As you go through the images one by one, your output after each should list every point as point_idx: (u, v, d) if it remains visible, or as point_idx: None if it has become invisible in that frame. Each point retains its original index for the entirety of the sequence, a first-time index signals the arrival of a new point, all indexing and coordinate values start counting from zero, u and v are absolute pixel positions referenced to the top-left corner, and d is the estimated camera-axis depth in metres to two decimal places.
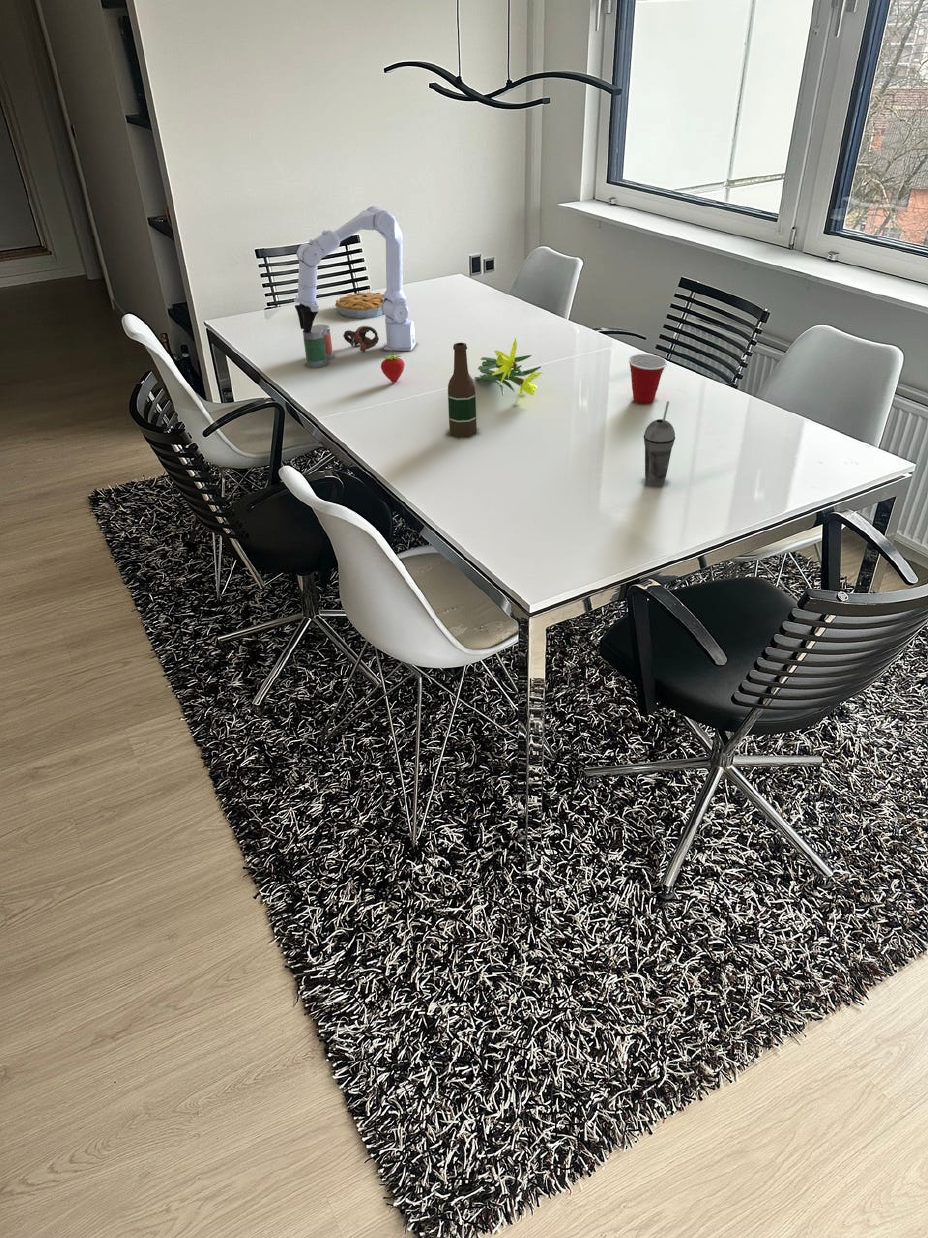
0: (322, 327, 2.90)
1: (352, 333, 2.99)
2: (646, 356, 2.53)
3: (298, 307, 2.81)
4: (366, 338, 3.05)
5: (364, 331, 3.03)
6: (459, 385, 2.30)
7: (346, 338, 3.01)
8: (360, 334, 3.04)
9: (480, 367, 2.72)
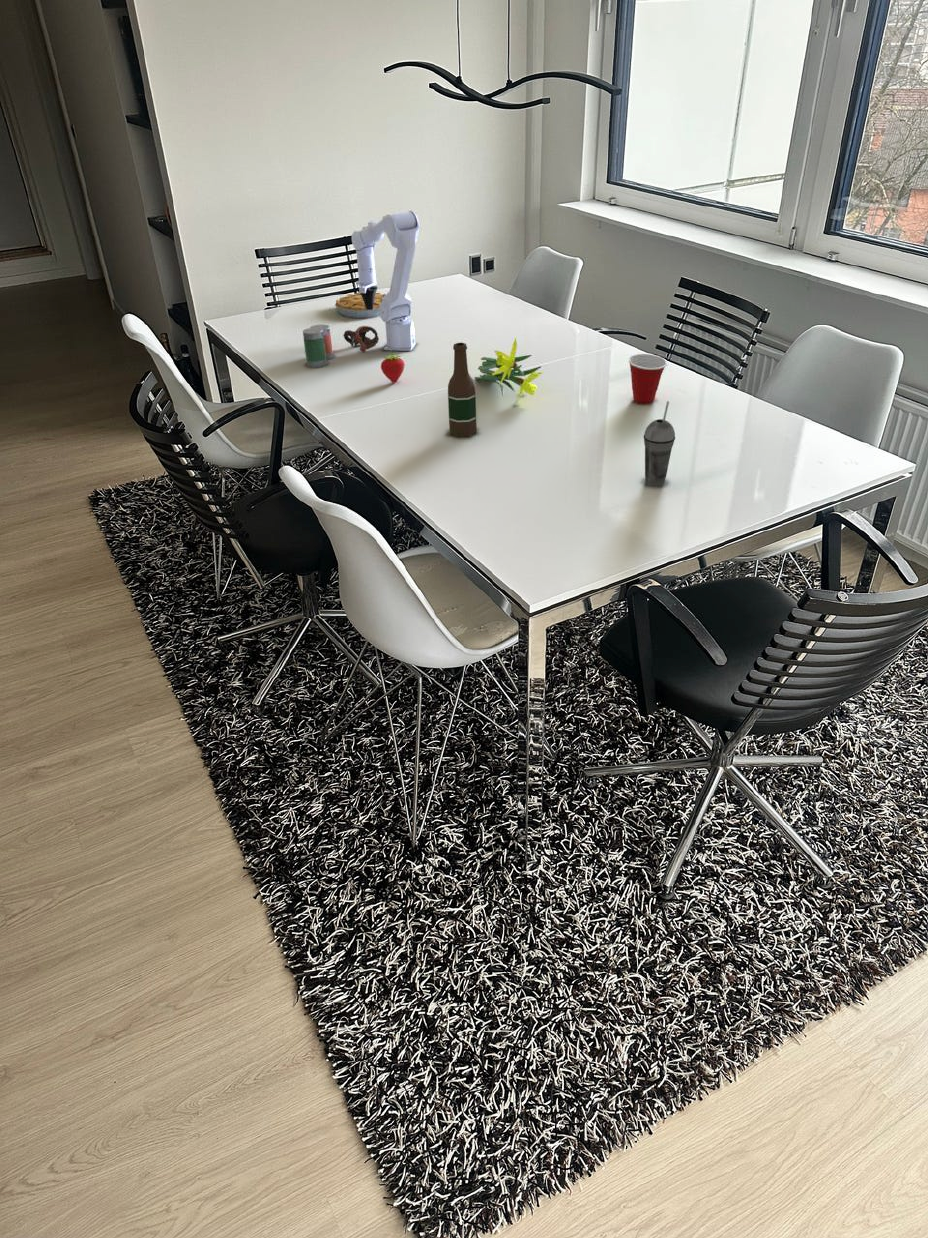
0: (322, 327, 2.90)
1: (352, 333, 2.99)
2: (646, 356, 2.53)
3: None
4: (366, 338, 3.05)
5: (364, 331, 3.03)
6: (459, 385, 2.30)
7: (346, 338, 3.01)
8: (360, 334, 3.03)
9: (480, 367, 2.72)
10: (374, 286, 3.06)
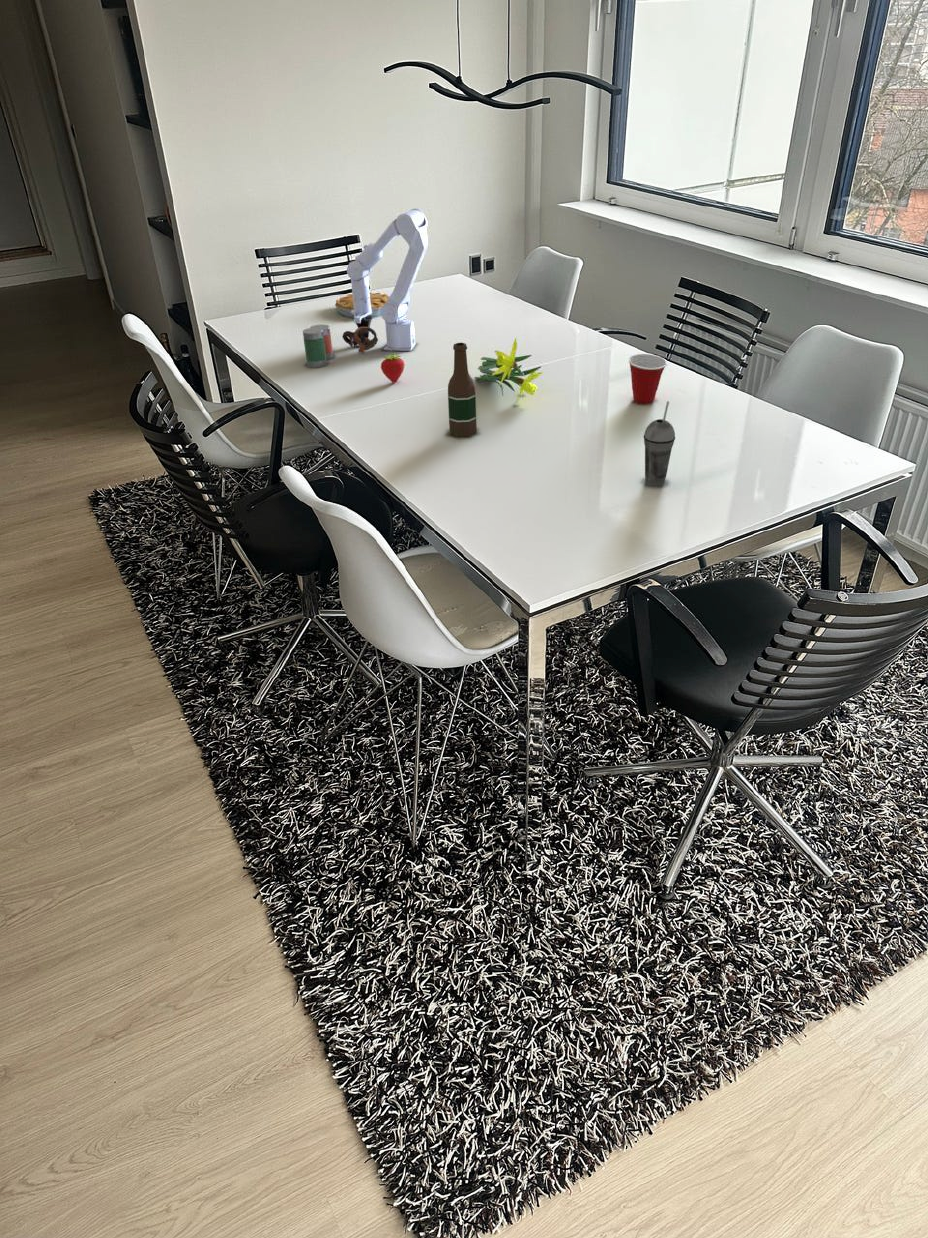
0: (322, 327, 2.90)
1: (351, 334, 2.99)
2: (646, 356, 2.53)
3: None
4: (365, 339, 3.05)
5: (363, 332, 3.02)
6: (459, 385, 2.30)
7: (345, 339, 3.00)
8: (359, 335, 3.03)
9: (480, 367, 2.72)
10: (369, 315, 3.03)
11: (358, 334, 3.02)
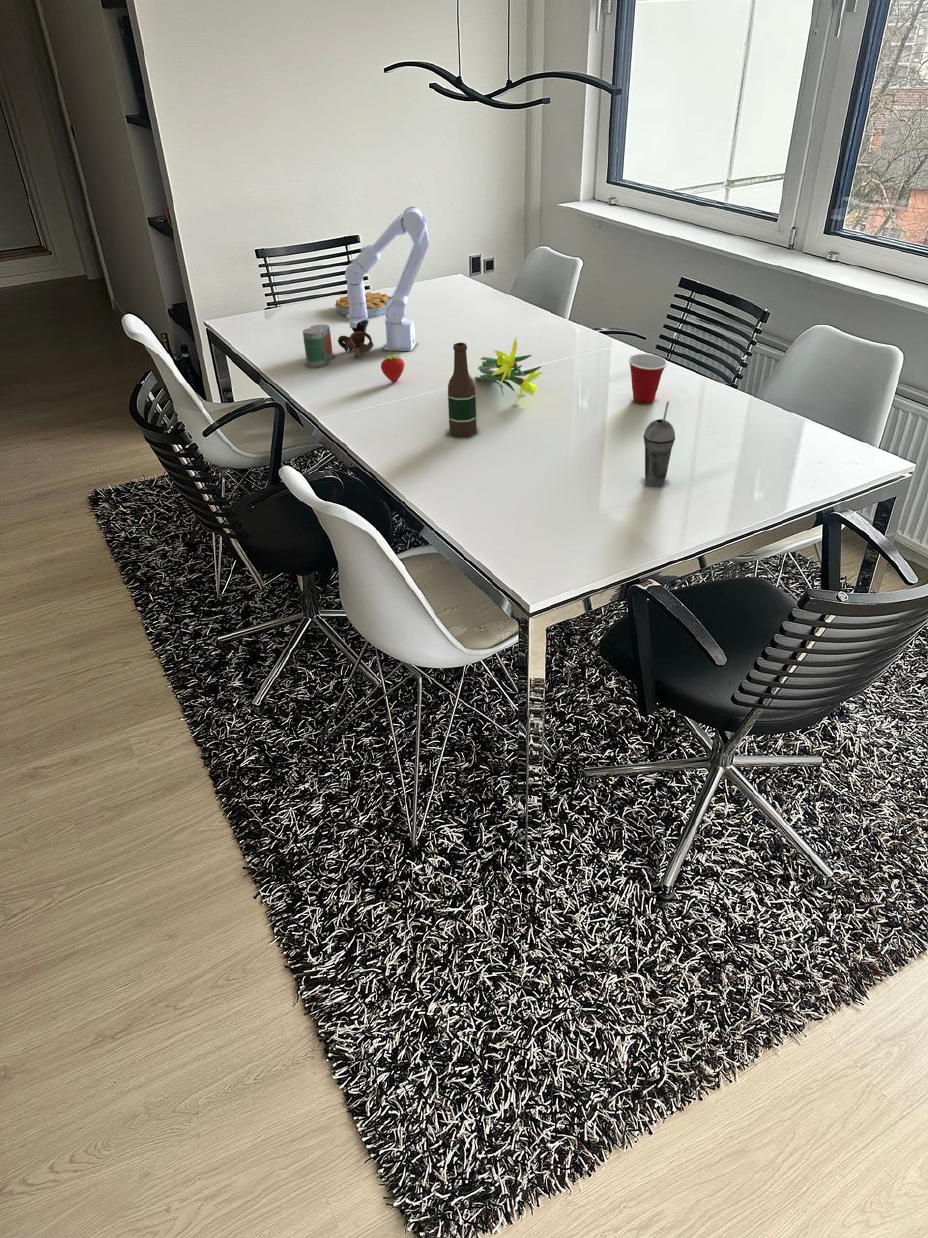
0: (322, 327, 2.90)
1: (346, 338, 2.95)
2: (646, 356, 2.53)
3: None
4: (361, 344, 3.00)
5: (359, 336, 2.98)
6: (459, 385, 2.30)
7: (340, 343, 2.96)
8: (355, 339, 2.99)
9: (480, 367, 2.72)
10: (365, 320, 2.99)
11: (354, 339, 2.98)
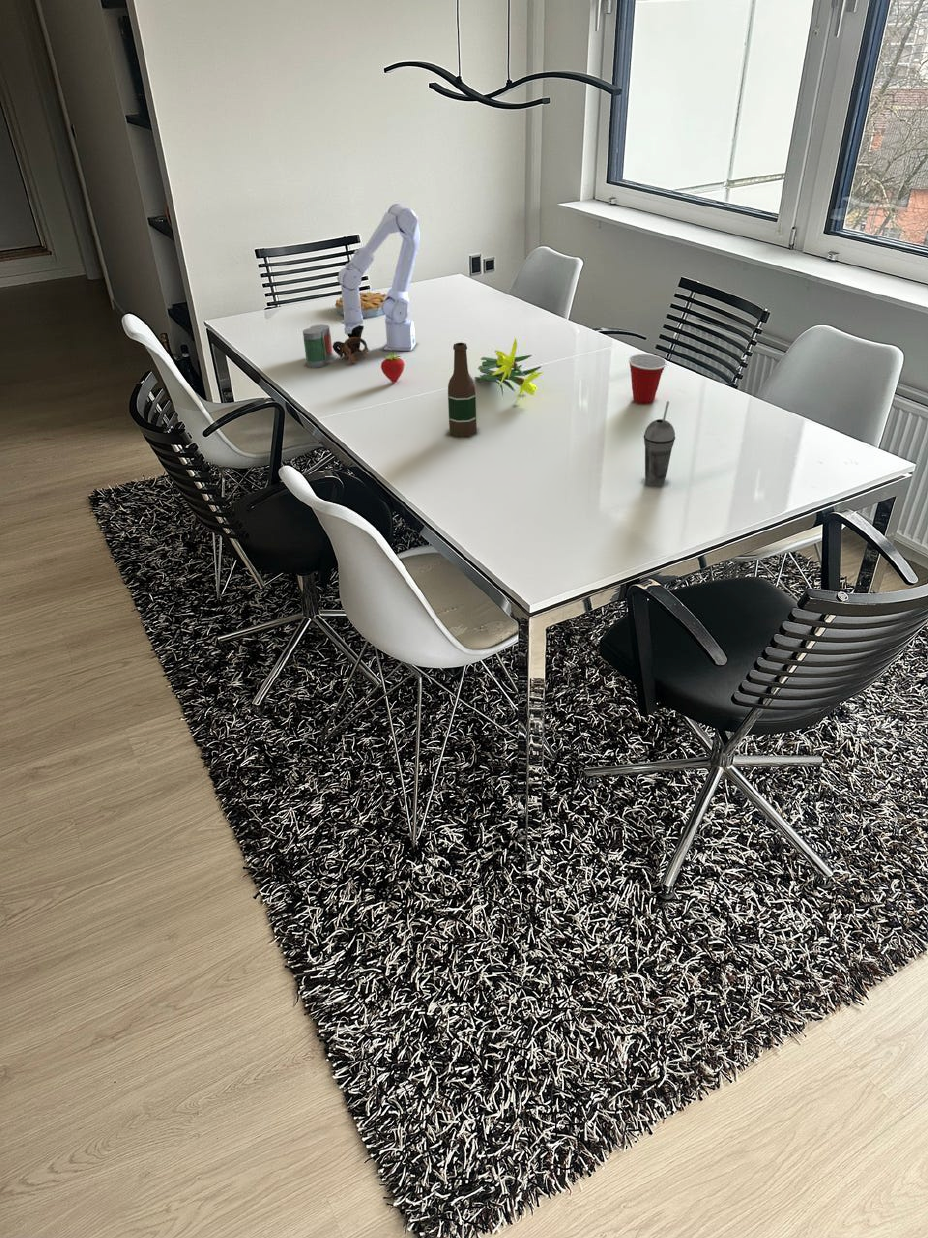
0: (322, 327, 2.90)
1: (341, 344, 2.90)
2: (646, 356, 2.53)
3: None
4: (356, 349, 2.96)
5: (354, 342, 2.93)
6: (459, 385, 2.30)
7: (335, 349, 2.92)
8: (350, 345, 2.94)
9: (480, 367, 2.72)
10: (360, 325, 2.94)
11: (349, 344, 2.93)
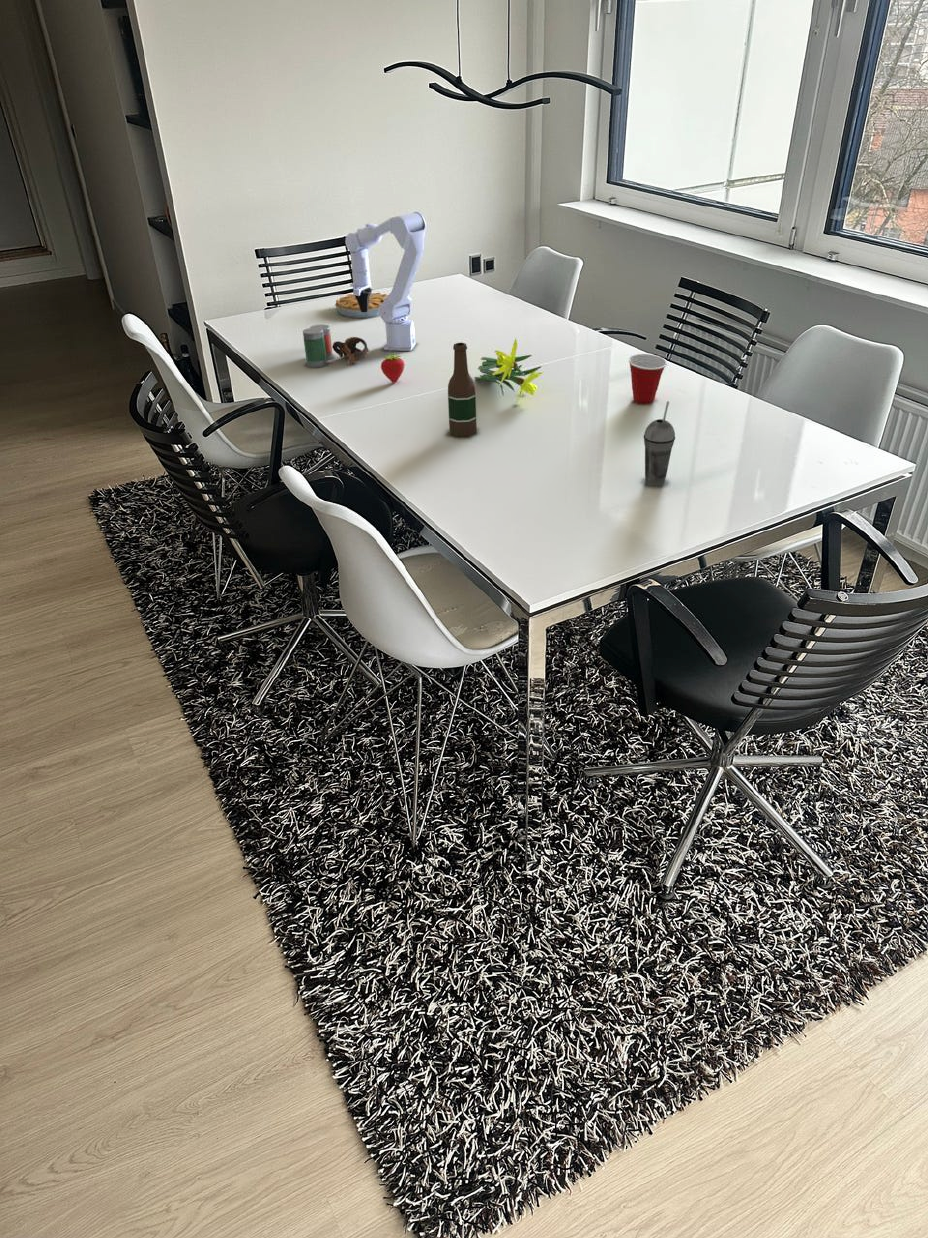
0: (322, 327, 2.90)
1: (341, 344, 2.90)
2: (646, 356, 2.53)
3: None
4: (356, 349, 2.95)
5: (354, 342, 2.93)
6: (459, 385, 2.30)
7: (335, 349, 2.91)
8: (350, 345, 2.94)
9: (480, 367, 2.72)
10: (369, 288, 3.03)
11: (349, 344, 2.93)
